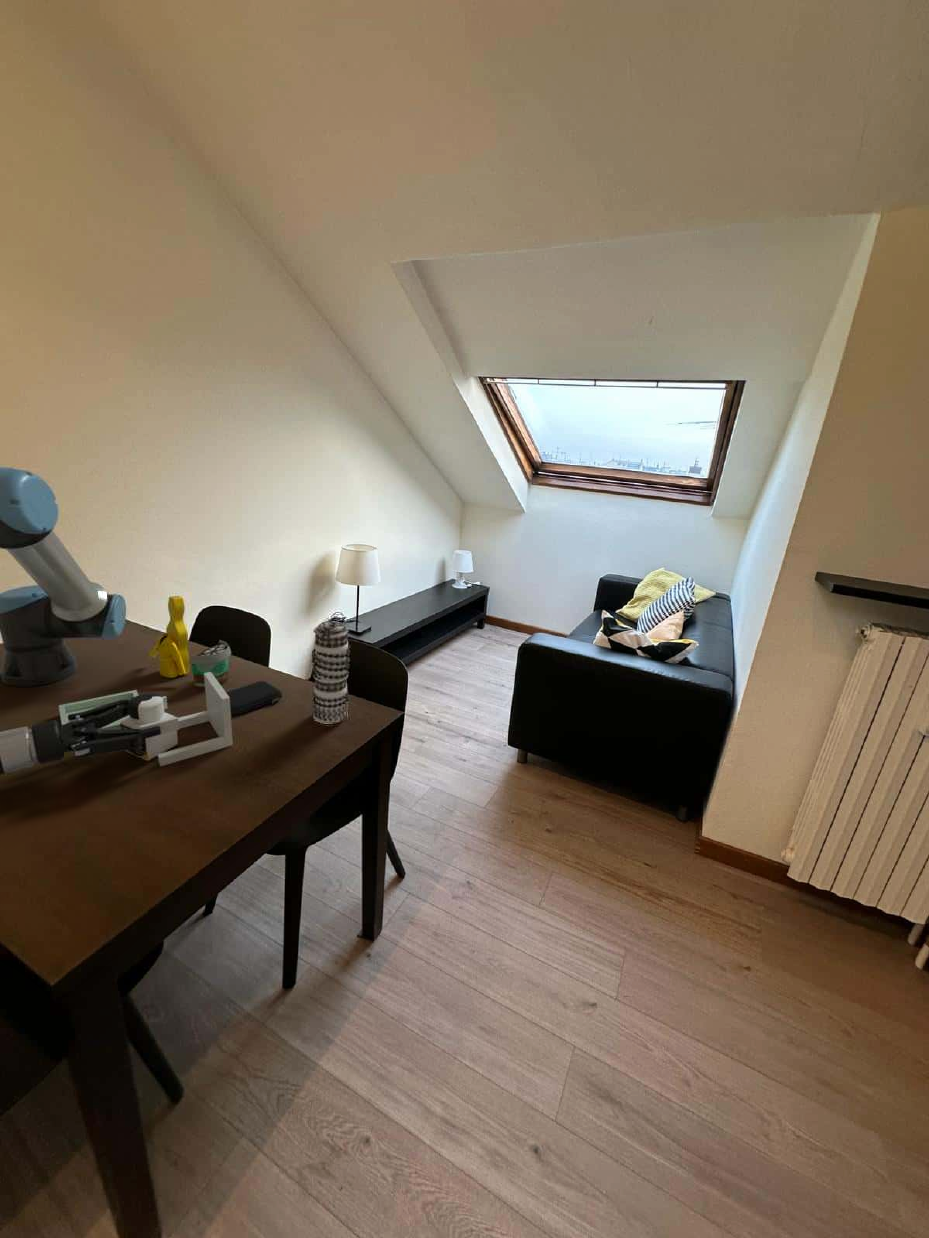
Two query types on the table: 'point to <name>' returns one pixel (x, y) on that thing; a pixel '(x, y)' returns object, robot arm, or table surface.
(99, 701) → the tray
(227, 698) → the bay
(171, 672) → the figure statuette
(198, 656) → the food container
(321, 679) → the decorative candle
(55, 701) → the table surface
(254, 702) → the carrying case or bag
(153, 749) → the medicine bottle
